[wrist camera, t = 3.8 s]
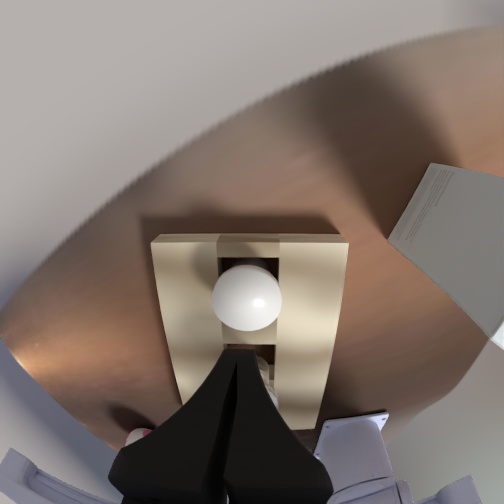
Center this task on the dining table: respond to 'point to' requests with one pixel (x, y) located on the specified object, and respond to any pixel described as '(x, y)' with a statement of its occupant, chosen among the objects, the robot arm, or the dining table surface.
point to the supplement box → (459, 240)
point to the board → (278, 332)
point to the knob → (247, 295)
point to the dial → (267, 379)
